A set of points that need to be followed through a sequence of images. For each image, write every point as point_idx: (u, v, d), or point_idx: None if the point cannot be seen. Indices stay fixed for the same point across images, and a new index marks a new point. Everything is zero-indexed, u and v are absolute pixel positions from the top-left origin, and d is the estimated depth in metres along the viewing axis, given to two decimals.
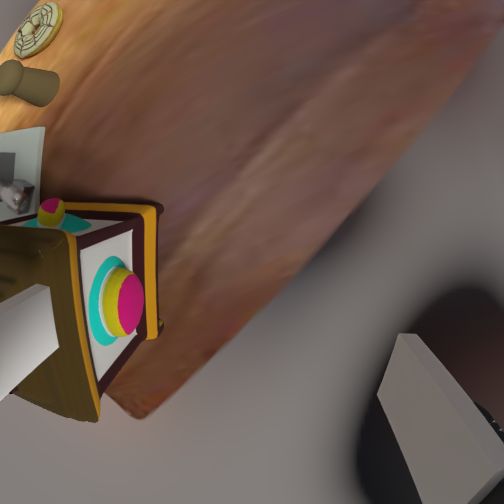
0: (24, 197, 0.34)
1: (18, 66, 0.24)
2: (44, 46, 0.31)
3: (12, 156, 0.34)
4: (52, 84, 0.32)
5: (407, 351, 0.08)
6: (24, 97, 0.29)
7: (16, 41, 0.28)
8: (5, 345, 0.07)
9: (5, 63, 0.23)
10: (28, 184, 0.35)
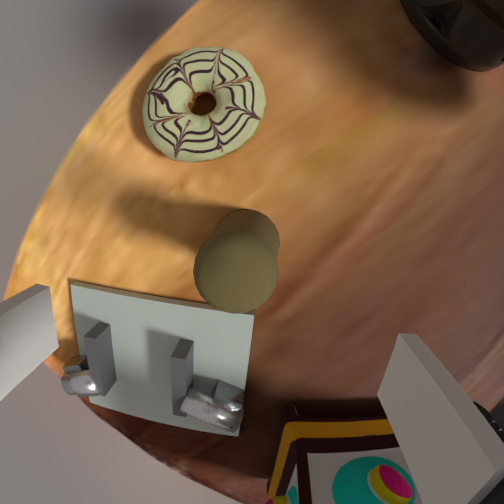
0: None
1: (274, 260, 0.18)
2: None
3: (192, 349, 0.29)
4: (277, 249, 0.26)
5: (407, 351, 0.08)
6: None
7: (156, 120, 0.23)
8: (5, 345, 0.07)
9: (242, 251, 0.17)
10: (236, 392, 0.29)
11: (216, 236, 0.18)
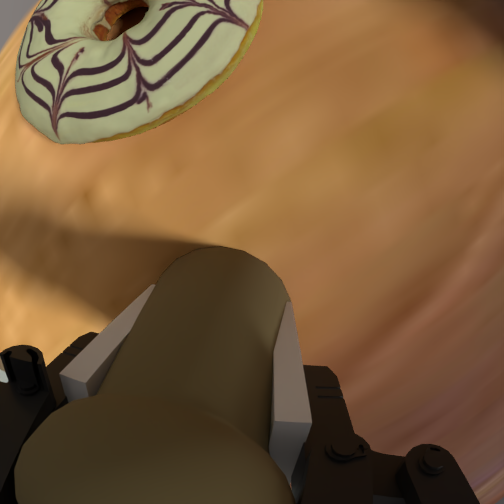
0: None
1: None
2: (181, 112, 0.10)
3: None
4: None
5: None
6: None
7: (26, 65, 0.07)
8: None
9: None
10: None
11: (40, 448, 0.03)
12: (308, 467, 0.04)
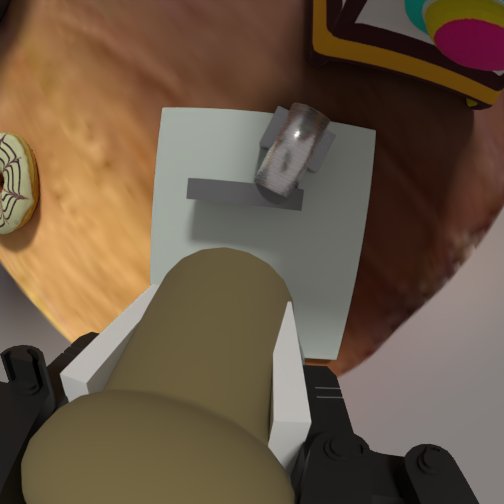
0: None
1: None
2: (30, 152, 0.23)
3: None
4: None
5: None
6: None
7: (3, 217, 0.22)
8: None
9: None
10: None
11: (49, 441, 0.03)
12: (307, 467, 0.04)
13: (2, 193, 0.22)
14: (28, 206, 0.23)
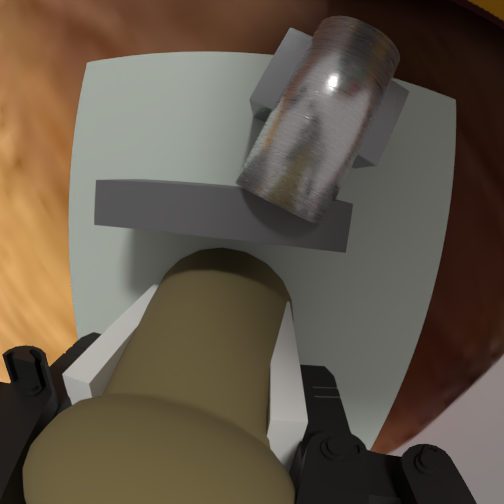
0: None
1: None
2: None
3: None
4: None
5: None
6: None
7: None
8: None
9: None
10: None
11: (50, 447, 0.03)
12: (303, 467, 0.04)
13: None
14: None
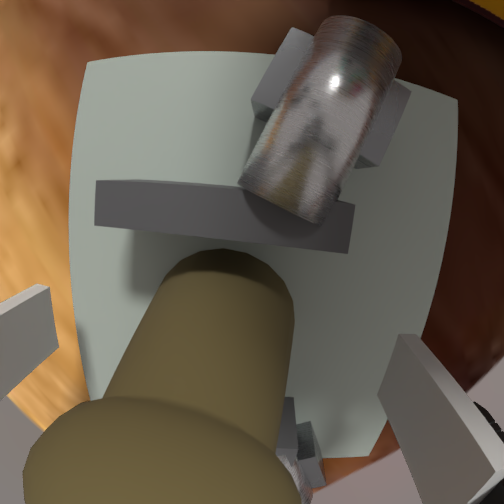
0: None
1: None
2: None
3: None
4: None
5: (407, 351, 0.08)
6: None
7: None
8: (5, 345, 0.07)
9: None
10: None
11: (50, 451, 0.03)
12: None
13: None
14: None
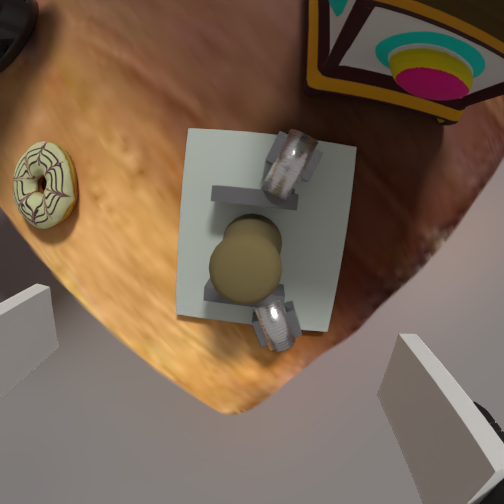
0: None
1: (279, 258, 0.21)
2: (69, 157, 0.30)
3: None
4: (280, 249, 0.29)
5: (407, 351, 0.08)
6: None
7: (46, 213, 0.29)
8: (5, 345, 0.07)
9: (251, 250, 0.20)
10: None
11: (229, 238, 0.21)
12: None
13: (45, 192, 0.29)
14: (70, 203, 0.30)
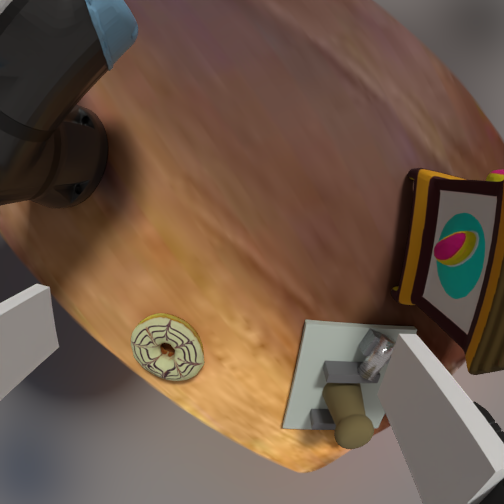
0: (385, 336, 0.36)
1: (373, 426, 0.32)
2: (194, 330, 0.40)
3: (329, 363, 0.40)
4: None
5: (407, 351, 0.08)
6: None
7: (180, 375, 0.40)
8: (5, 345, 0.07)
9: (363, 431, 0.30)
10: (368, 335, 0.38)
11: (350, 423, 0.31)
12: None
13: (177, 361, 0.39)
14: (201, 366, 0.40)
